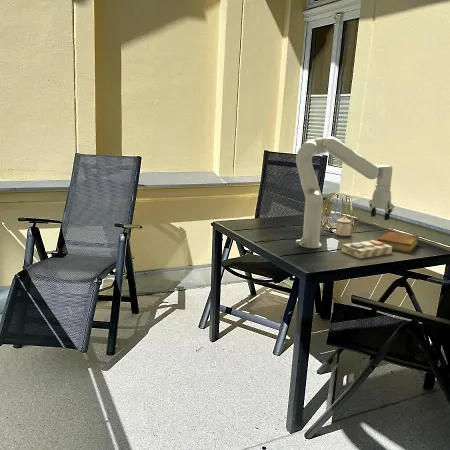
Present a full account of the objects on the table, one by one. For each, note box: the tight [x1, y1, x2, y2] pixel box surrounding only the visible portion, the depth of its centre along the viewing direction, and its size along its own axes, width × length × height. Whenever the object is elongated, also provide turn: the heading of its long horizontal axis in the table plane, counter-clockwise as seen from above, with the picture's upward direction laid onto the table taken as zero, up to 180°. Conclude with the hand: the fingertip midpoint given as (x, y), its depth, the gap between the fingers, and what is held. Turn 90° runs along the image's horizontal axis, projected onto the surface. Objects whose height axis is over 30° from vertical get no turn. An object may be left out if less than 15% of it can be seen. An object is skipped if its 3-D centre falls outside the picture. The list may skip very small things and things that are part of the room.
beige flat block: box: [340, 239, 393, 259], centre depth 246 cm, size 24×14×4 cm, turn 118°
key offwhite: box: [361, 242, 374, 247], centre depth 246 cm, size 5×5×2 cm
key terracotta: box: [370, 240, 384, 246], centre depth 249 cm, size 5×5×2 cm
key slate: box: [351, 243, 364, 249], centre depth 242 cm, size 5×5×2 cm
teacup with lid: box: [335, 216, 352, 237], centre depth 282 cm, size 12×9×12 cm
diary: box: [376, 231, 420, 254], centre depth 262 cm, size 23×19×6 cm
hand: (379, 218), depth 247 cm, fingers open, 9 cm apart
